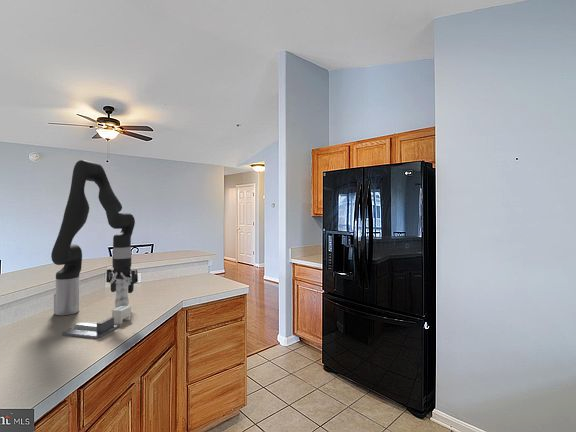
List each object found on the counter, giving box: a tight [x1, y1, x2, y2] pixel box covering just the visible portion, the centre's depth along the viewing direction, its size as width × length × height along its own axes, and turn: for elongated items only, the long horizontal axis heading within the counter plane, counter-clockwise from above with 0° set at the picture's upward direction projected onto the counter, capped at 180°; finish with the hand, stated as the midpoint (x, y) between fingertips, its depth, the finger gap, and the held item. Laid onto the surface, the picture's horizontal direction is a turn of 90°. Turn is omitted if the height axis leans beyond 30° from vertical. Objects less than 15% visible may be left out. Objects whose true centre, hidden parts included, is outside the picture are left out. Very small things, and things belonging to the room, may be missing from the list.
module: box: [111, 305, 131, 325], centre depth 133 cm, size 4×6×6 cm
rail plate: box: [61, 316, 120, 339], centre depth 122 cm, size 16×12×5 cm
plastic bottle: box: [114, 277, 130, 308], centre depth 151 cm, size 6×7×20 cm
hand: (122, 292), depth 133 cm, fingers open, 8 cm apart
